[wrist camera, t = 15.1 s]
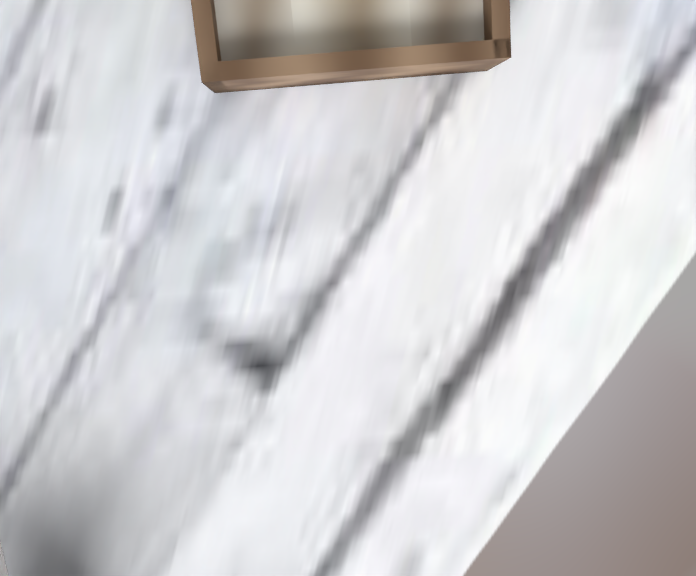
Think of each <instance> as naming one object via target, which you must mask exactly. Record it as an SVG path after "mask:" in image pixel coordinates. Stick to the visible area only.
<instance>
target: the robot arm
mask: <svg viewBox="0 0 696 576" xmlns="http://www.w3.org/2000/svg"><path fill="white" fill-rule="evenodd" d="M0 576H8V572H7V568H6V563H5V559H4V555H3V551H2V547H1V542H0Z"/></svg>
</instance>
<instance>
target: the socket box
mask: <svg viewBox="0 0 696 576" xmlns="http://www.w3.org/2000/svg"><path fill="white" fill-rule="evenodd" d="M191 5H192V12H193V20H194V27H195V35H196V43H197V50H198V58H199V65H200V73H201V80H202V83H203V84H204V85H206V86H207V87H208V88H209V89H211V90H212V91H213V92H214V93H222V92H234V91H246V90H258V89H271V88H283V87H295V86H307V85H320V84H332V83H344V82H356V81H368V80H381V79H393V78H405V77H417V76H430V75H442V74H454V73H466V72H479V71H487V70H489V69H491V68H493V67H495V66H496V65H498V64H500V63H502V62H504V61H505V60H507V59H509V58H511V39H510V1H509V0H191Z"/></svg>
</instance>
